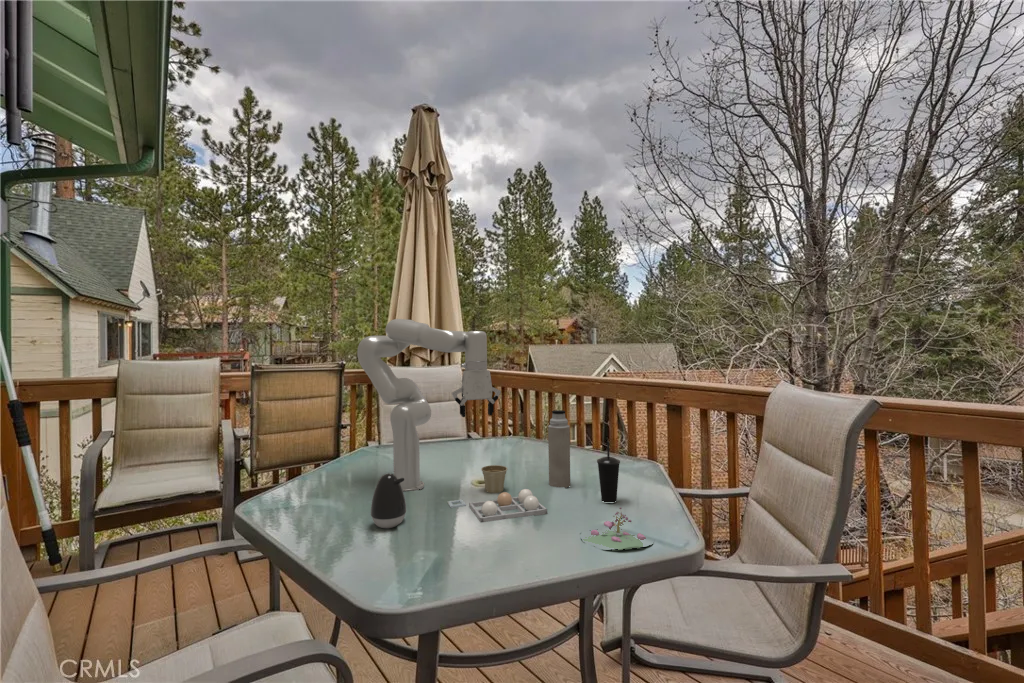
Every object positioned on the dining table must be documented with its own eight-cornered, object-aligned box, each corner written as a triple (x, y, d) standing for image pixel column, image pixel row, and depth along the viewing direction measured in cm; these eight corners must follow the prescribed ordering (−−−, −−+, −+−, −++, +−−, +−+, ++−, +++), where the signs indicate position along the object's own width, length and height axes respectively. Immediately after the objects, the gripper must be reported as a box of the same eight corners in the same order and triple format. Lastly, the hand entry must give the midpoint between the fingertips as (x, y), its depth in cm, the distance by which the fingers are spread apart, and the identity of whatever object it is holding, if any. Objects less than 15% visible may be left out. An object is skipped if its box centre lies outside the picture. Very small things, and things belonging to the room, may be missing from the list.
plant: (570, 519, 144) (569, 489, 144) (636, 517, 145) (636, 487, 145) (587, 556, 119) (587, 520, 119) (668, 553, 120) (667, 517, 120)
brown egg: (500, 511, 148) (499, 495, 148) (495, 506, 153) (494, 491, 153) (514, 508, 150) (513, 493, 150) (509, 503, 154) (508, 489, 154)
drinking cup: (607, 506, 152) (606, 444, 152) (592, 500, 159) (592, 440, 159) (625, 502, 156) (624, 442, 156) (610, 496, 163) (609, 438, 163)
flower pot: (509, 488, 173) (508, 465, 173) (506, 497, 163) (506, 472, 163) (483, 488, 174) (483, 464, 174) (479, 496, 164) (479, 471, 164)
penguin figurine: (394, 534, 133) (393, 480, 133) (363, 529, 136) (362, 476, 136) (413, 521, 142) (413, 470, 142) (384, 517, 146) (384, 468, 146)
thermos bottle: (555, 481, 181) (554, 408, 181) (574, 484, 177) (572, 409, 177) (545, 486, 174) (544, 411, 175) (564, 490, 170) (563, 412, 170)
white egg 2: (519, 504, 151) (523, 489, 152) (514, 500, 156) (518, 486, 156) (533, 507, 152) (536, 492, 153) (527, 503, 157) (531, 489, 158)
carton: (480, 525, 138) (480, 518, 138) (469, 509, 152) (469, 502, 152) (547, 515, 145) (547, 509, 145) (530, 501, 159) (530, 495, 159)
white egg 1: (484, 520, 140) (483, 504, 140) (479, 515, 145) (479, 499, 145) (499, 518, 142) (499, 502, 142) (494, 513, 146) (494, 497, 146)
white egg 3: (526, 514, 144) (526, 499, 144) (521, 509, 149) (521, 494, 149) (541, 512, 146) (541, 497, 146) (535, 507, 151) (535, 492, 151)
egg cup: (448, 511, 150) (448, 507, 150) (445, 505, 156) (445, 500, 156) (468, 509, 152) (468, 504, 152) (464, 502, 158) (464, 498, 158)
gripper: (453, 367, 157) (454, 419, 157) (503, 366, 163) (503, 415, 163) (449, 366, 164) (450, 415, 164) (496, 365, 170) (497, 412, 170)
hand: (476, 415), depth 164 cm, fingers open, 9 cm apart
